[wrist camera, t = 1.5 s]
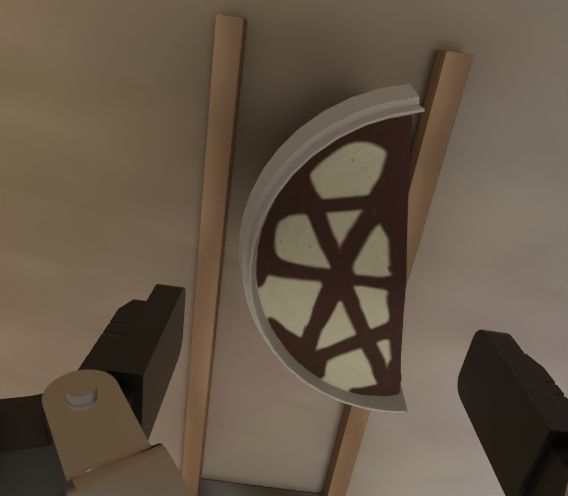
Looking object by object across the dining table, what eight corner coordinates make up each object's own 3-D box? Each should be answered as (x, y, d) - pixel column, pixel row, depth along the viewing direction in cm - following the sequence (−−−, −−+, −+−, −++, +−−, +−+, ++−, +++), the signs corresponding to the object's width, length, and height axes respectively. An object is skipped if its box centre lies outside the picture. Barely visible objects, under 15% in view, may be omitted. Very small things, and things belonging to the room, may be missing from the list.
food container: (245, 80, 22) (207, 103, 13) (372, 71, 22) (426, 88, 13) (266, 299, 27) (249, 428, 18) (370, 295, 27) (407, 423, 18)
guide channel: (462, 54, 21) (496, 55, 18) (332, 514, 35) (336, 569, 31) (221, 15, 21) (205, 9, 17) (183, 495, 34) (169, 549, 30)
